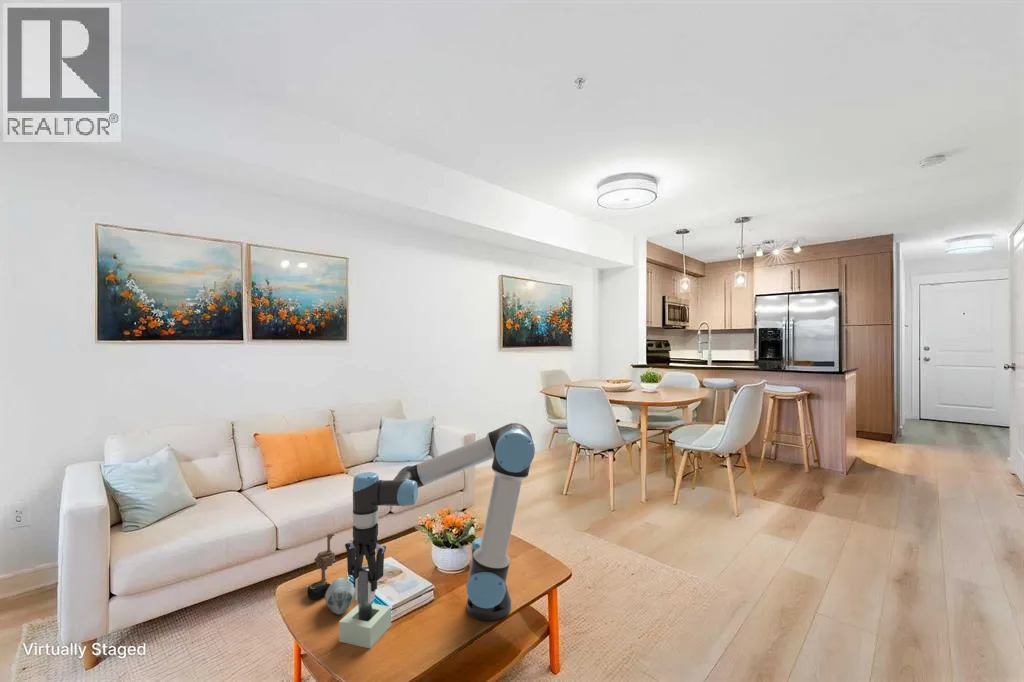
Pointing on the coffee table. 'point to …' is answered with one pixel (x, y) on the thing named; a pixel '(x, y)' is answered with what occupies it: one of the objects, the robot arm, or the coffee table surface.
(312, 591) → the tape measure
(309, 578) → the coffee table surface
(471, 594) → the robot arm
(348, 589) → the grey rounded lump
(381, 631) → the green block with hole
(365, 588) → the grey metal cylinder
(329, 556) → the ostrich figurine
